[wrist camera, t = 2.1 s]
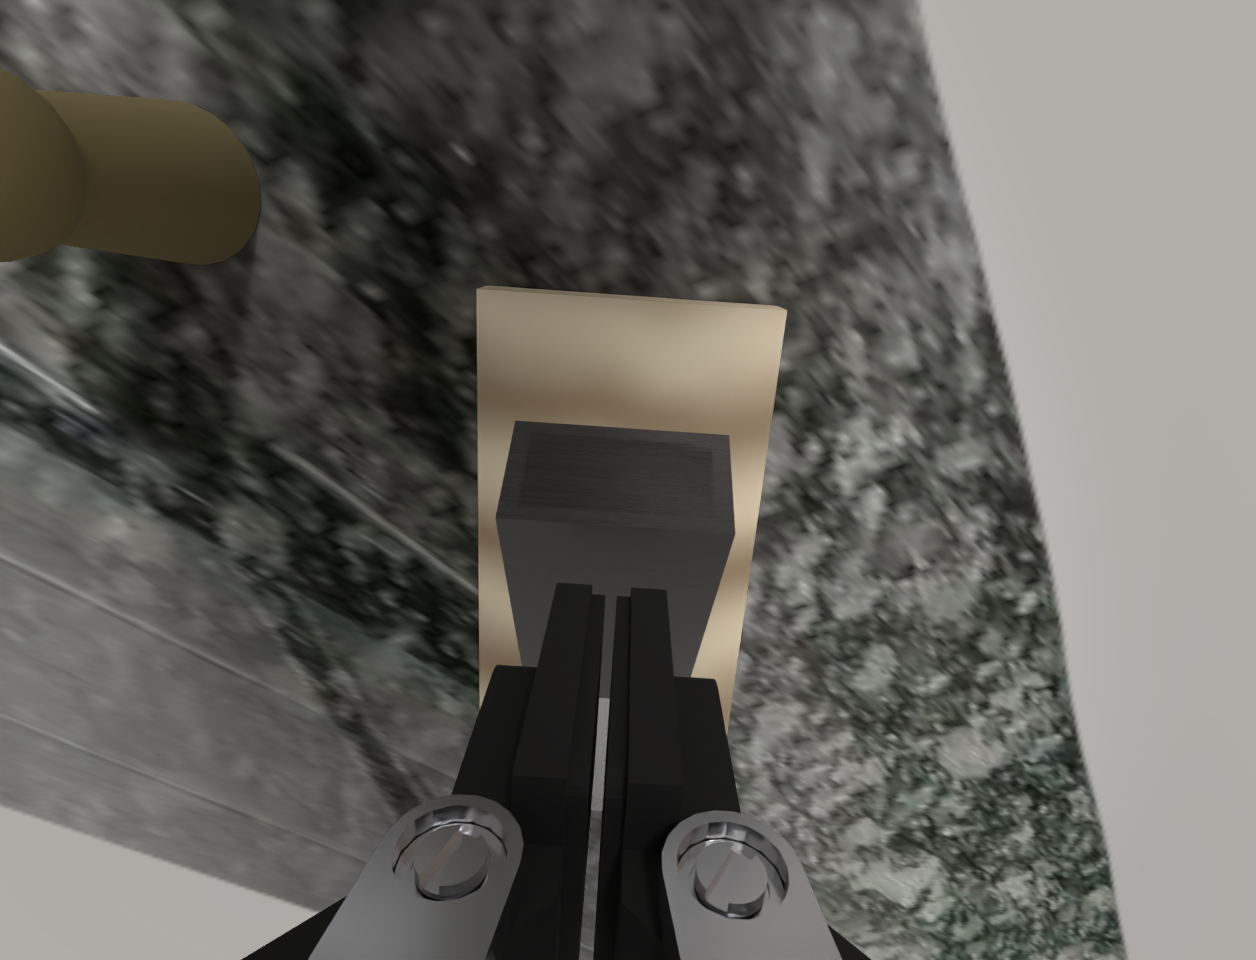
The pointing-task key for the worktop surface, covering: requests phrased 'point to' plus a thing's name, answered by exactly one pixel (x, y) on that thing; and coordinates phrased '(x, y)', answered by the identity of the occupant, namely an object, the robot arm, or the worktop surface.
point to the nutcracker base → (625, 417)
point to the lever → (615, 532)
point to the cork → (120, 177)
